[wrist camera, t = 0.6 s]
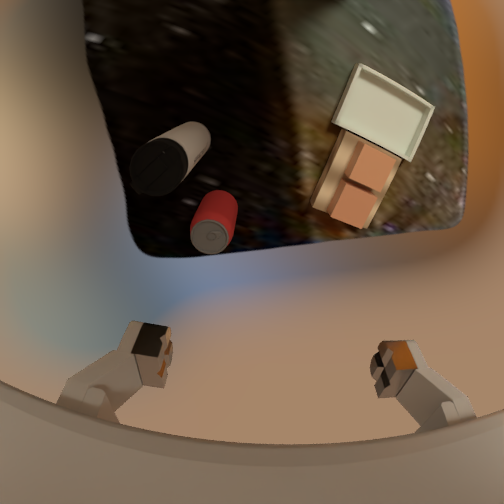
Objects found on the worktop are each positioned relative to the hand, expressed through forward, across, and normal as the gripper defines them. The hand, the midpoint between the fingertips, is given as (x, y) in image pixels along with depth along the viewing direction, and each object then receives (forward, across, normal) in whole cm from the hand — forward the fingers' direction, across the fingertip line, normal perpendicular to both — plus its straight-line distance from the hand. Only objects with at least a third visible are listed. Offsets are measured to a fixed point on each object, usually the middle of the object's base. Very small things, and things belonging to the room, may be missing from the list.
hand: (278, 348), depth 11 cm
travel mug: (+43, +12, 0) cm, 45 cm away
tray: (+42, -19, -9) cm, 47 cm away
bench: (+43, -16, +3) cm, 46 cm away
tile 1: (+40, -15, +7) cm, 43 cm away
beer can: (+43, +7, +12) cm, 45 cm away
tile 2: (+40, -17, 0) cm, 43 cm away
